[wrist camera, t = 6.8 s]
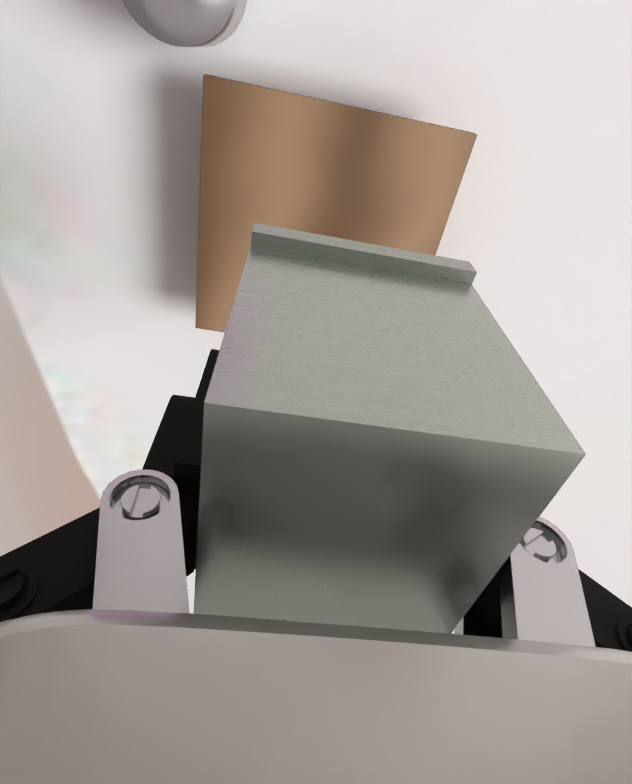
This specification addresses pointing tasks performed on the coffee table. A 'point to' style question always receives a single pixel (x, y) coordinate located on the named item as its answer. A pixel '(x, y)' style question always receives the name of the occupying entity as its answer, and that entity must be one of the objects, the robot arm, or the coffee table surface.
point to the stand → (314, 179)
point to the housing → (366, 440)
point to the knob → (188, 20)
